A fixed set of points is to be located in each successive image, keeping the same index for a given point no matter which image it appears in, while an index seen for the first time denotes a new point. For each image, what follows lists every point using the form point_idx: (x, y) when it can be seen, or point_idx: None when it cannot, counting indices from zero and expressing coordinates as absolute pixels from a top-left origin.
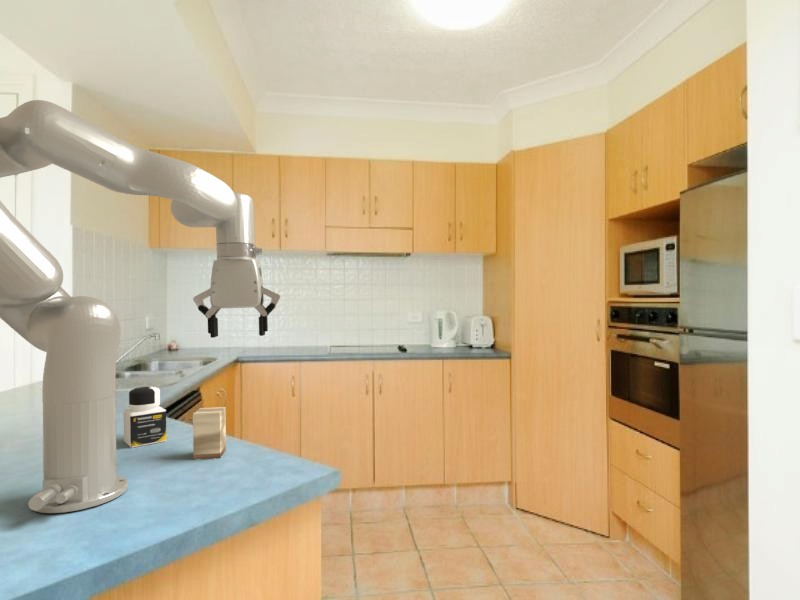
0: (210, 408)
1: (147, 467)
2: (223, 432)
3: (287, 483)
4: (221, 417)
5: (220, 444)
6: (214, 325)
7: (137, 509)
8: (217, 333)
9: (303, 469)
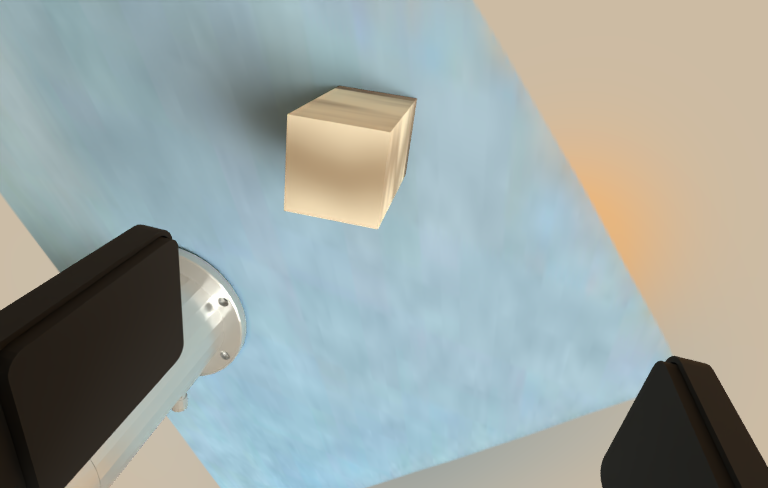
0: (331, 139)
1: (232, 180)
2: (401, 149)
3: (554, 400)
4: (386, 195)
5: (399, 182)
6: (108, 422)
7: (295, 394)
8: (162, 270)
9: (611, 344)
